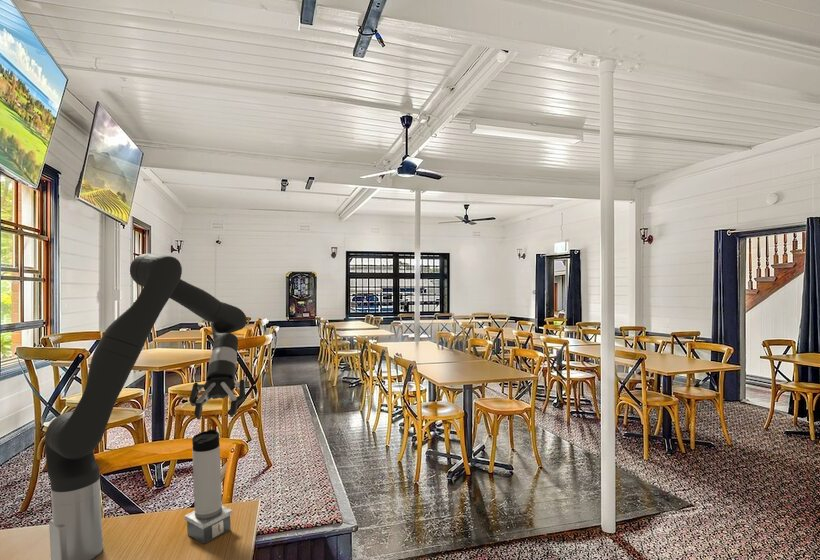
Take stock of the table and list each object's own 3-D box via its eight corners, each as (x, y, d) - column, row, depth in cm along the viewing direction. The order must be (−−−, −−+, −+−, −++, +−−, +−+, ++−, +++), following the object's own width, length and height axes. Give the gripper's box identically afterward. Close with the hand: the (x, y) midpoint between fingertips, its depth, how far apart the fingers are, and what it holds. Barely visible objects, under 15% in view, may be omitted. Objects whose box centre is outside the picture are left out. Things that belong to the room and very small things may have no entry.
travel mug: (227, 505, 119) (224, 429, 119) (214, 519, 113) (211, 438, 112) (204, 505, 120) (201, 428, 119) (189, 518, 113) (186, 438, 113)
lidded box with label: (203, 545, 110) (202, 525, 110) (185, 535, 115) (184, 515, 115) (232, 529, 117) (232, 510, 117) (214, 520, 122) (213, 501, 121)
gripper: (193, 360, 132) (183, 412, 121) (246, 357, 135) (240, 408, 124) (199, 374, 137) (190, 425, 126) (249, 371, 140) (244, 421, 129)
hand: (215, 417), depth 125 cm, fingers open, 8 cm apart
